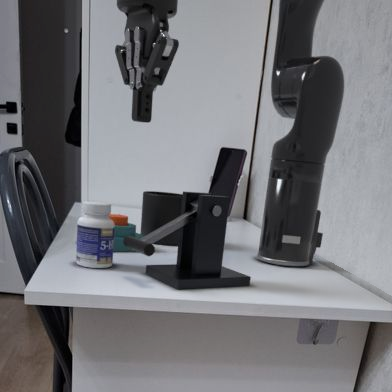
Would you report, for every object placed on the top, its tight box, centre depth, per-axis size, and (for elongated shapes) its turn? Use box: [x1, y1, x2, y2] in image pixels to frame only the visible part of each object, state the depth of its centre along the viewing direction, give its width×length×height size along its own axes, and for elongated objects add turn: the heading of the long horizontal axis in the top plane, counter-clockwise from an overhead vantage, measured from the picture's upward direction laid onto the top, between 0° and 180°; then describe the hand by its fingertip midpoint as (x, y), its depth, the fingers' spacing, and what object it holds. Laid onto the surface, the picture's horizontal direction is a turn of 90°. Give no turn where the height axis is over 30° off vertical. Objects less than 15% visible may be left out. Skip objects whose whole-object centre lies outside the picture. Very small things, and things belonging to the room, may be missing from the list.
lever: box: [123, 199, 198, 257], centre depth 72 cm, size 13×6×2 cm, turn 125°
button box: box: [113, 222, 144, 252], centre depth 96 cm, size 10×8×4 cm
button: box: [109, 213, 129, 226], centre depth 95 cm, size 4×4×2 cm
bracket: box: [145, 191, 252, 290], centre depth 75 cm, size 12×9×12 cm
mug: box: [140, 190, 183, 246], centre depth 107 cm, size 9×12×9 cm
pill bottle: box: [75, 200, 114, 269], centre depth 79 cm, size 5×5×9 cm
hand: (141, 121), depth 72 cm, fingers closed
